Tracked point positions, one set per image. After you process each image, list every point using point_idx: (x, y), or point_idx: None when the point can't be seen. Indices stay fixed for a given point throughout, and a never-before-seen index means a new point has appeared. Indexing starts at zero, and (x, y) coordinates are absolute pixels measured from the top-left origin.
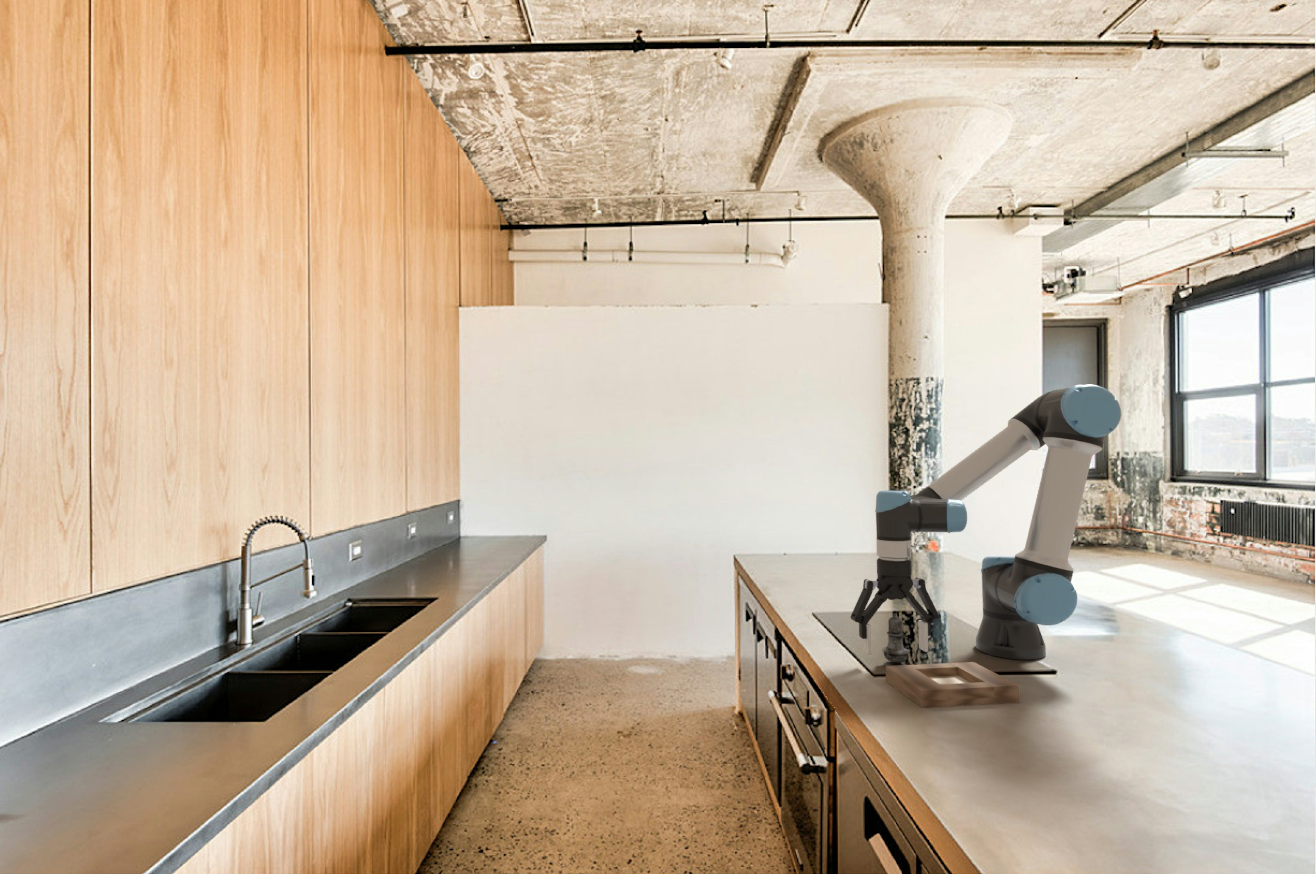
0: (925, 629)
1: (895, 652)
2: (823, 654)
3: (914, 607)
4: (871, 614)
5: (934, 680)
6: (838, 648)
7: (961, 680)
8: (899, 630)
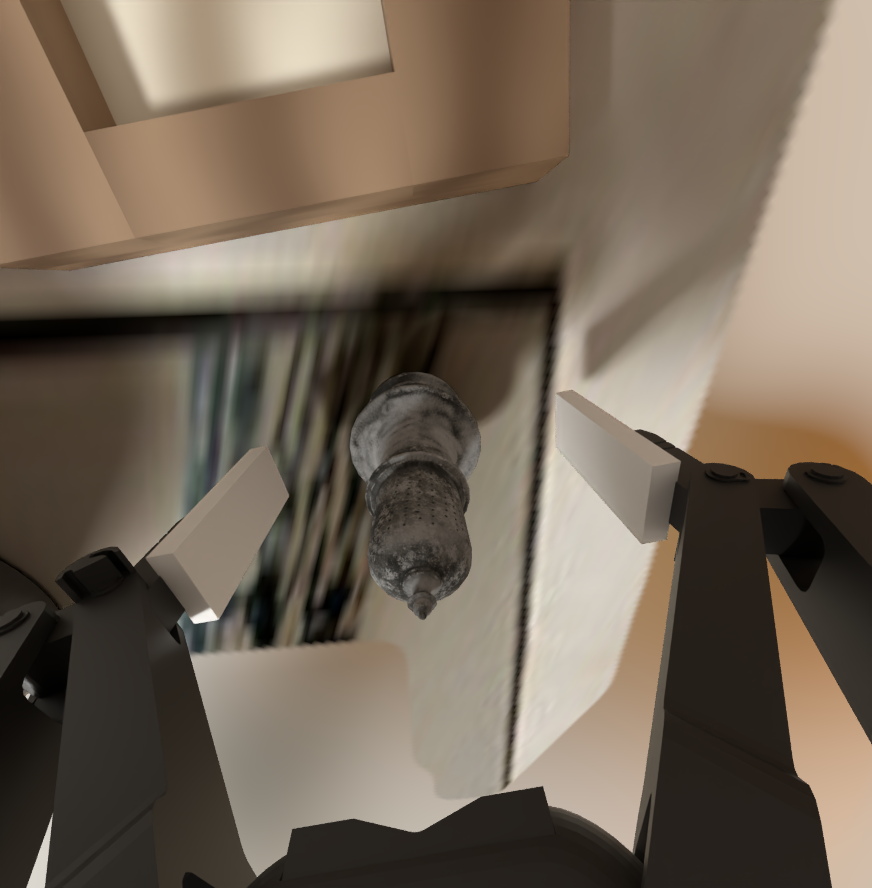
0: (197, 520)
1: (432, 400)
2: None
3: (181, 711)
4: (717, 533)
5: (290, 30)
6: (553, 589)
7: (107, 23)
8: (399, 482)
